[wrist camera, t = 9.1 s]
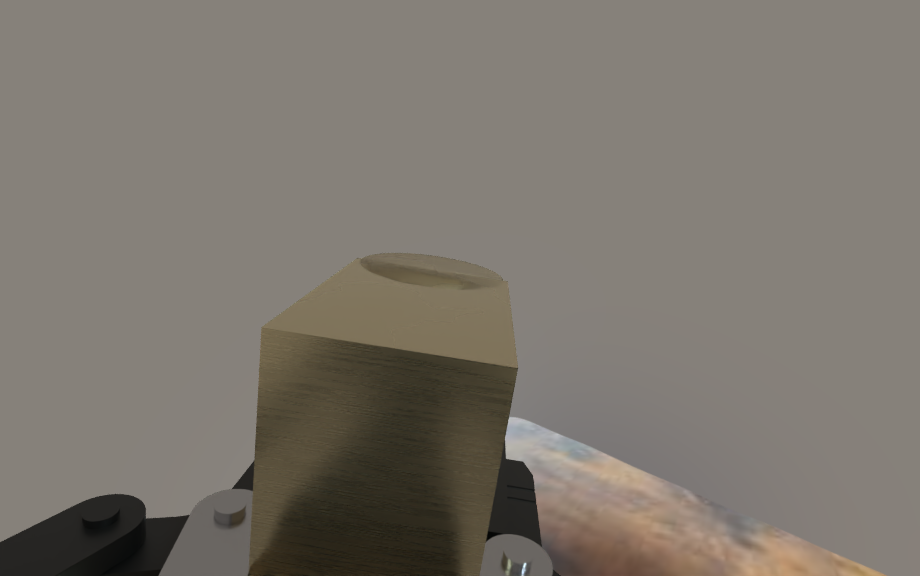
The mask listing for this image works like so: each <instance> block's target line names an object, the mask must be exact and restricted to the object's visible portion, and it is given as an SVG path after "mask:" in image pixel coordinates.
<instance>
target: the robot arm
mask: <svg viewBox="0 0 920 576" xmlns="http://www.w3.org/2000/svg"><path fill="white" fill-rule="evenodd" d="M254 461H255V460H254ZM253 480H254V462H253V463H252V464H251V466H250V467H249V468H248V469H247V471H246V472H245V473H244V474H243V476H242V477H241V478H240V479H239V481H238V482H237V483H236V484H235V486H234V487H233V488H232V489H230V490H224V491H220V492H217V493H214V494H212V495H209V496H207V497H206V498H204V499H203V500H201V501H200V502H199V503H198V504H197V505H196V506H195V507H194V509H193V510H192V512H191V514H190V515H187V516H180V517H166V518H150V519H146V508H145V505H144V503H143V502H142V501H141V500H139V499H138V498H136V497H134V496H130V495H124V494H112V495H104V496H99V497H95V498H91V499H89V500H86V501H83V502H81V503H79V504H77V505H75V506H73V507H71V508H69V509H67V510H65V511H62V512H61V513H59V514H57V515H55V516H52V517H51V518H49V519H46V520H44V521H42V522H40V523H38V524H36V525H34V526H32V527H30V528H28V529H26V530H24V531H22V532H20V533H18V534H16V535H14V536H12V537H10V538H8V539H6V540H4V541H2V542H0V576H250V568H251V566H249V554H250V536H251V517H252V498H253ZM534 491H535V489H534V480H533V475H532V474H531V472H530V471H529V469H528V468H527V467H526V465H525V464H524V462H521V461H515V460H509V459H506V453H505V441H504V446H503V451H502V457H501V462H500V468H499V473H498V478H497V484H496V489H495V495H494V500H493V505H492V511H491V516H490V522H489V527H488V533H487V538H486V543H485V549H484V554H483V560H482V565H481V570H480V576H560V575H559V574H558V573H556V572H555V571H554V570H553V565H552V561H551V559H550V557H549V555H548V554H547V552H546V551H545V550H544V549H543V548H542V545H541V537H540V529H539V521H538V513H537V505H536V497H535V492H534Z"/></svg>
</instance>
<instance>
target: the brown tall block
mask: <svg viewBox="0 0 920 576" xmlns="http://www.w3.org/2000/svg"><path fill="white" fill-rule="evenodd" d="M510 306H511V305H510V297H509V289H508V282H507V281H503V279H502V277H501V276H499V275H498V274H497V273H495V272H493V271H491V270H489V269H487V268H484V267H481V266H478V265H475V264H471V263H468V262H464V261H459V260H455V259H450V258H444V257H438V256H431V255H422V254H410V253H383V254H375V255H369V256H367V257H364V258H362V259H361V258H357V259H355V260H354V261H353V262H351V263H350V264H348V265H347V266H346V267H344V268H343V269H342V270H340V271H339V272H337V273H336V274H335V275H333V276H332V277H330V278H329V279H328V280H327V281H325V282H324V283H322V284H321V285H319V286H318V287H317V288H315V289H314V290H313V291H311V292H310V293H309V294H307V295H306V296H304V297H303V298H301V299H300V300H299V301H297V302H296V303H294V304H293V305H292V306H290V307H289V308H288V309H286V310H285V311H283V312H282V313H281V314H279V315H278V316H277V317H275V318H274V319H272V320H271V321H270V322H268V323H267V324H265V325H264V326H263V327H262V330H261V350H260V367H259V386H258V406H257V424H256V443H255V461H254V480H253V498H252V517H251V536H250V554H249V566H251V568H250V576H480V570H481V565H482V560H483V554H484V549H485V543H486V538H487V533H488V527H489V522H490V516H491V511H492V505H493V500H494V495H495V489H496V484H497V478H498V473H499V468H500V462H501V457H502V451H503V446H504V441H505V435H506V430H507V424H508V419H509V414H510V408H511V403H512V397H513V392H514V387H515V381H516V376H517V370H518V365H517V356H516V348H515V339H514V331H513V322H512V314H511V307H510Z"/></svg>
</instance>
